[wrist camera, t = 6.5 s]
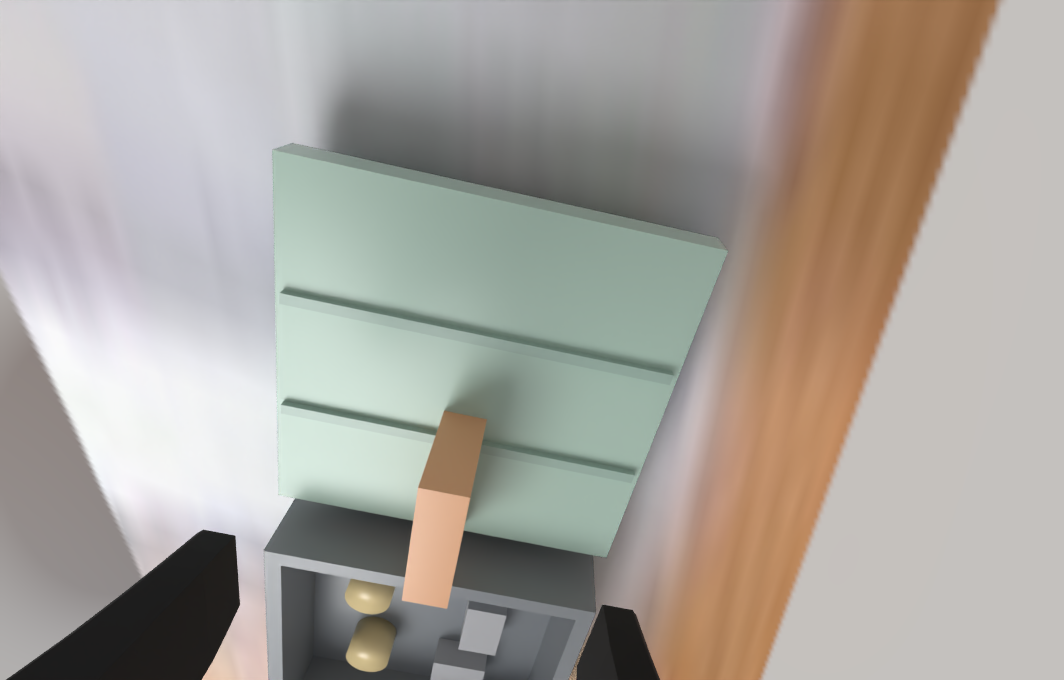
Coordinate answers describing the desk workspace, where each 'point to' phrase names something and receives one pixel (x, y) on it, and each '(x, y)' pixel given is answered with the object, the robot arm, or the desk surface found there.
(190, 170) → the desk surface
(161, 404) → the desk surface
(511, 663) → the tub
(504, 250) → the lid
